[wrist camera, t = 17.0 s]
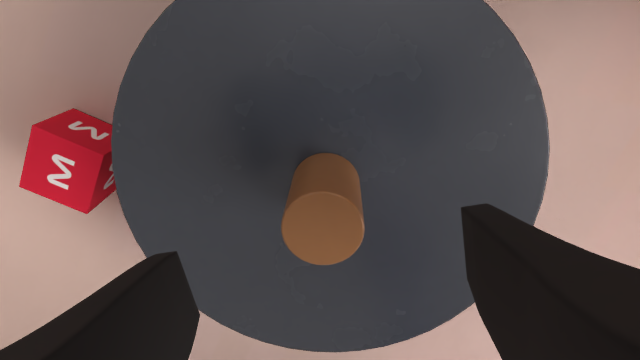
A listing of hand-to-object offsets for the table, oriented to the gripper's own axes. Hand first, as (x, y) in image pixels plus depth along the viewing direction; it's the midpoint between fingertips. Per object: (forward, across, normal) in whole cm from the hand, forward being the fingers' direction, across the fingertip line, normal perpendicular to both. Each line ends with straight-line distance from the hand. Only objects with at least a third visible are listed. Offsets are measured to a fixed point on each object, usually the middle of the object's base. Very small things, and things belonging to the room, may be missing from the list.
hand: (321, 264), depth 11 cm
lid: (+6, 0, 0) cm, 6 cm away
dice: (+11, +11, -2) cm, 15 cm away
